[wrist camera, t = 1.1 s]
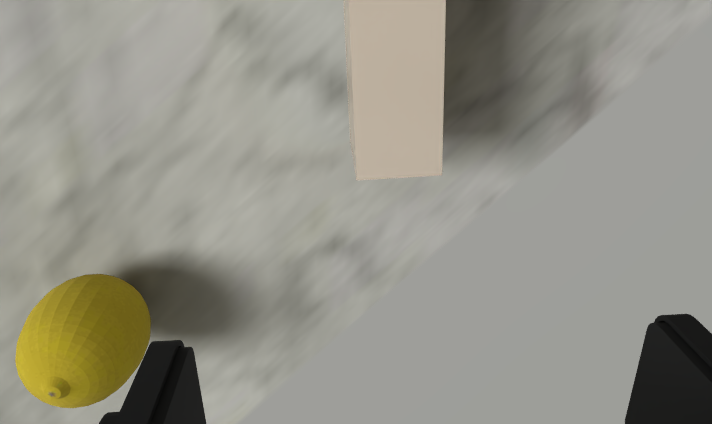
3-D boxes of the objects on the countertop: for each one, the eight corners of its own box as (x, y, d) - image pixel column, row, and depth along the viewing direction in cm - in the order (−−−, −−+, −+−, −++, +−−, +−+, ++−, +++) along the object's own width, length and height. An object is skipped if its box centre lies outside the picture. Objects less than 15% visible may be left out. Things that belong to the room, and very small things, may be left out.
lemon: (43, 294, 30) (-46, 397, 23) (104, 228, 29) (31, 315, 22) (126, 350, 32) (69, 462, 25) (188, 291, 31) (146, 391, 24)
